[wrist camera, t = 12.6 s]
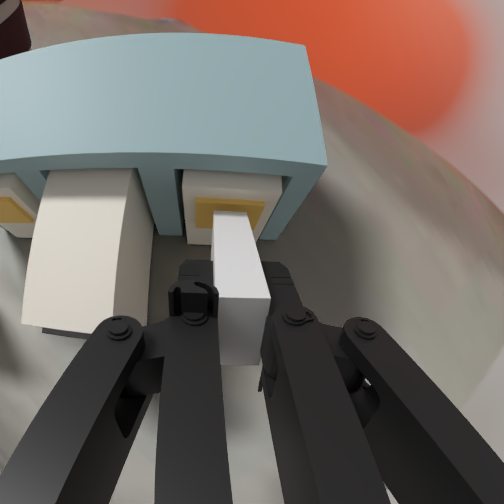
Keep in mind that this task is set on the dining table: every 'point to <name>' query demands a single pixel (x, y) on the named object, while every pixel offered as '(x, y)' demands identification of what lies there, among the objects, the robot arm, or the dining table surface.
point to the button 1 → (17, 206)
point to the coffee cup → (13, 29)
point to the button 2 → (227, 199)
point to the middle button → (89, 251)
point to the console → (165, 115)
